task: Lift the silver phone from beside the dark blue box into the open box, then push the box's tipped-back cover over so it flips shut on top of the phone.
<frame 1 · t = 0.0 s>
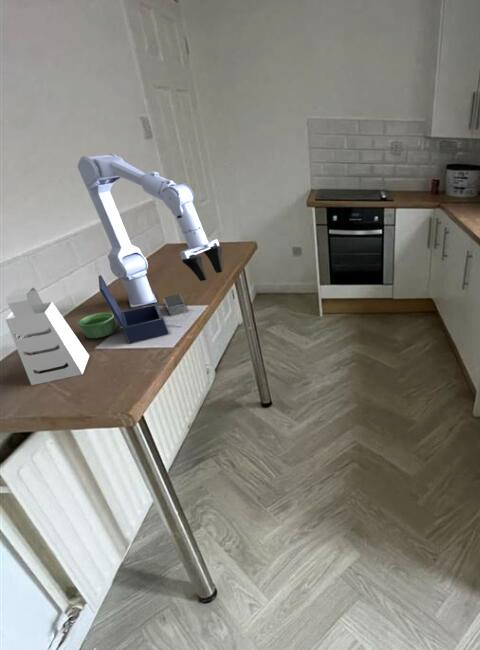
hand: (211, 276, 127), 11 cm above the table, tool pointing down, fingers open, 7 cm apart
cover: (110, 300, 114), point 10 cm above the table, hinge at 96.0°
phone: (176, 308, 135), on the table
dark blue box: (146, 330, 121), on the table
grater: (62, 370, 104), on the table
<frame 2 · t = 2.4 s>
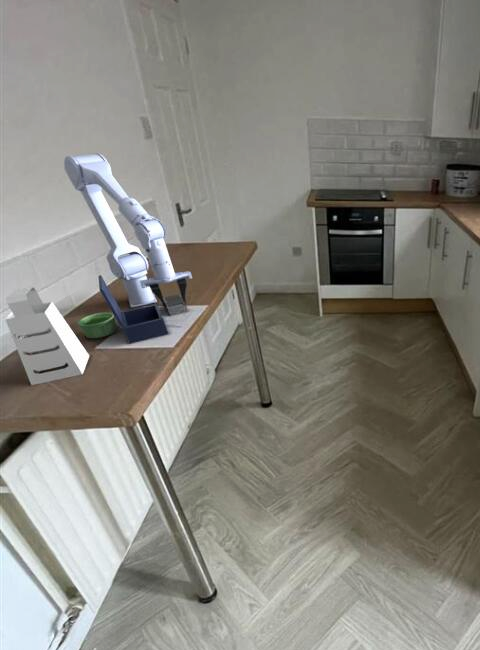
hand: (175, 304, 134), 1 cm above the table, tool pointing down, fingers closed on phone, 5 cm apart
phone: (176, 308, 135), on the table, touching gripper
everything else where it was.
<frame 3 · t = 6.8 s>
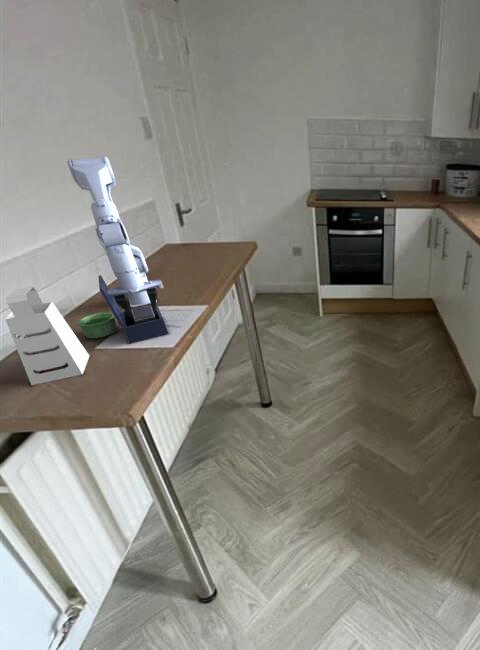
hand: (144, 317, 120), 4 cm above the table, tool pointing down, fingers closed on phone, 5 cm apart
phone: (146, 321, 120), point 2 cm above the table, touching gripper
everything else where it was.
when the fingers open (5 cm above the table, at t = 13.2 s): phone drops 3 cm, resting on dark blue box.
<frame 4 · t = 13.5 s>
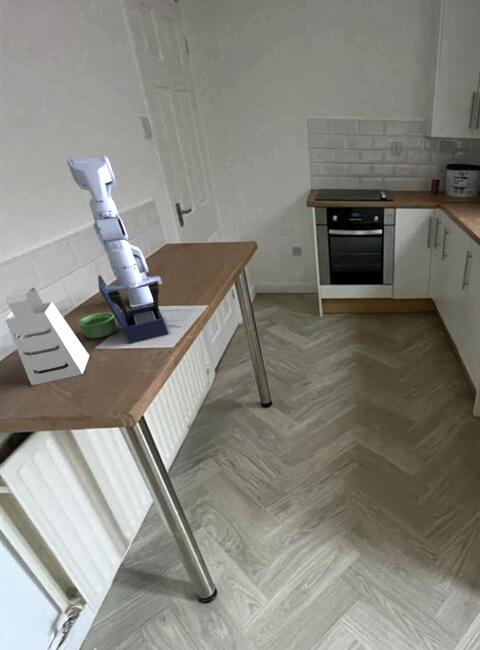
hand: (143, 313, 119), 5 cm above the table, tool pointing down, fingers open, 7 cm apart
cover: (110, 300, 114), point 10 cm above the table, hinge at 96.6°, touching gripper
phone: (148, 327, 121), point 1 cm above the table, touching dark blue box
everything else where it was.
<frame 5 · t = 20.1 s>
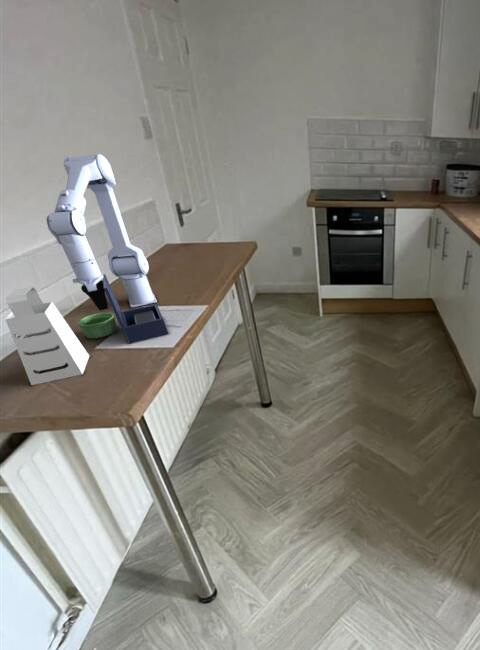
hand: (103, 309, 117), 7 cm above the table, tool pointing down, fingers closed, pressing on cover
cover: (112, 300, 114), point 10 cm above the table, hinge at 90.5°, touching gripper
everything else where it was.
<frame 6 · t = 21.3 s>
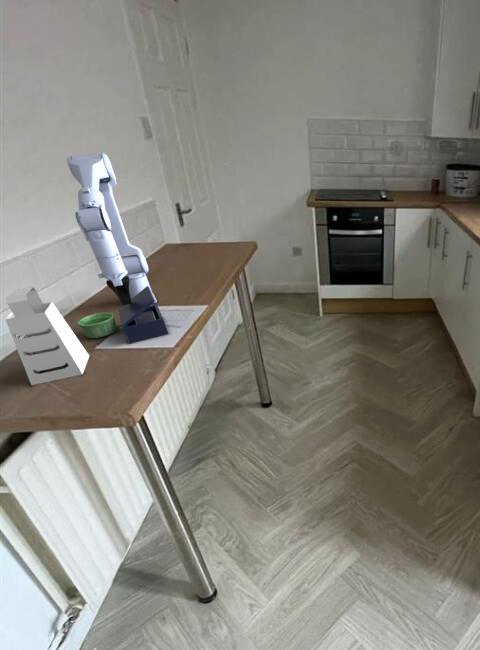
hand: (127, 303, 120), 7 cm above the table, tool pointing down, fingers closed
cover: (136, 305, 117), point 8 cm above the table, hinge at 28.5°, touching gripper
everything else where it was.
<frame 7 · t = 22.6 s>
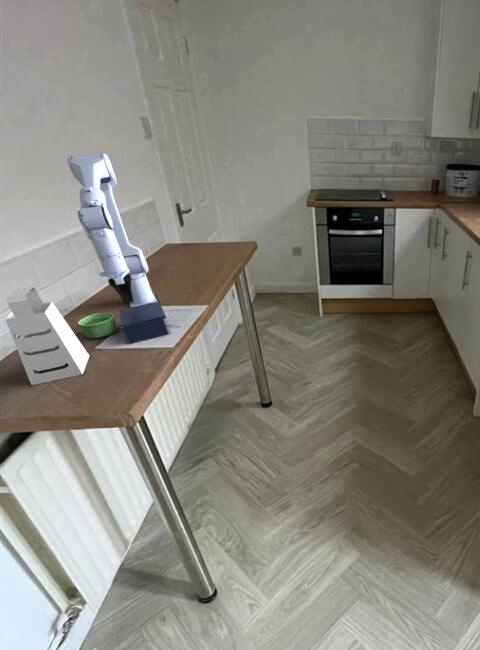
hand: (129, 302, 120), 8 cm above the table, tool pointing down, fingers closed
cover: (142, 313, 119), point 5 cm above the table, hinge at -0.3°, touching dark blue box
everything else where it was.
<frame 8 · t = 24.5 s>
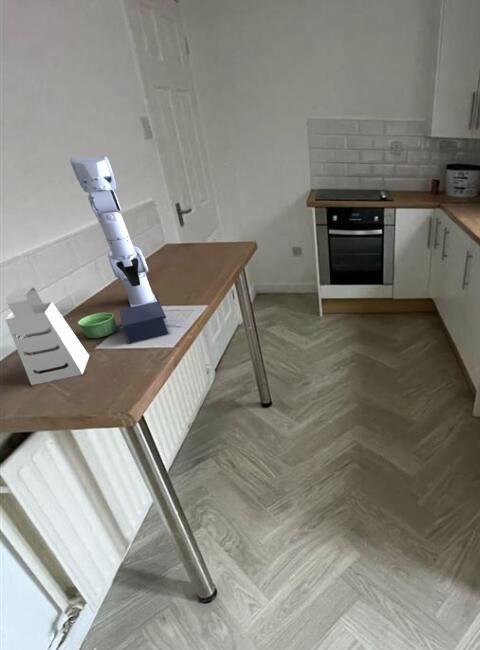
hand: (136, 285, 124), 10 cm above the table, tool pointing down, fingers closed
nothing on the table moved.
at the end: phone inside the target area in the dark blue box (0.7 cm from its centre), point 0.8 cm above the dark blue box's base; cover at +0° (first picture: +96°) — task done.
